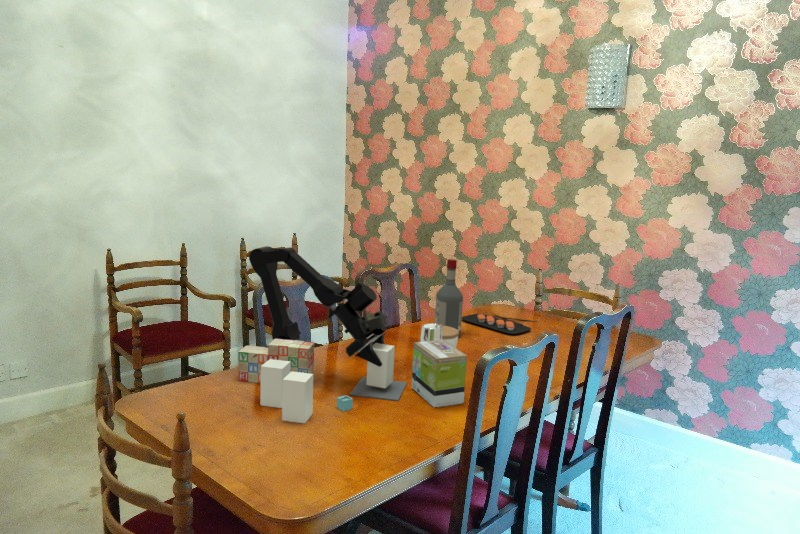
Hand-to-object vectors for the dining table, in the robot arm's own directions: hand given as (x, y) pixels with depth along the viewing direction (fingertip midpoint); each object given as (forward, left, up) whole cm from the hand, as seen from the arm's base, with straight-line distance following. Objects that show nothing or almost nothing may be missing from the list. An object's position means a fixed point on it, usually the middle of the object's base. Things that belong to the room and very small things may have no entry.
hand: (385, 362), depth 171 cm
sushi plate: (+34, +90, -9) cm, 96 cm away
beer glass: (+11, +20, -9) cm, 24 cm away
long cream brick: (-26, -18, -8) cm, 33 cm away
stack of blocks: (-32, -3, -9) cm, 34 cm away
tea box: (+16, 0, -9) cm, 18 cm away
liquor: (+12, +62, -9) cm, 64 cm away
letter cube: (-7, -16, -9) cm, 19 cm away
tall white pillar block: (-17, -25, -8) cm, 31 cm away
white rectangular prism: (-1, 0, -7) cm, 7 cm away
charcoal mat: (-1, 0, -8) cm, 9 cm away
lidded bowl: (+12, +37, -9) cm, 40 cm away
